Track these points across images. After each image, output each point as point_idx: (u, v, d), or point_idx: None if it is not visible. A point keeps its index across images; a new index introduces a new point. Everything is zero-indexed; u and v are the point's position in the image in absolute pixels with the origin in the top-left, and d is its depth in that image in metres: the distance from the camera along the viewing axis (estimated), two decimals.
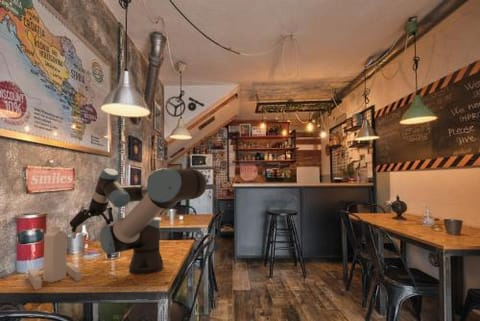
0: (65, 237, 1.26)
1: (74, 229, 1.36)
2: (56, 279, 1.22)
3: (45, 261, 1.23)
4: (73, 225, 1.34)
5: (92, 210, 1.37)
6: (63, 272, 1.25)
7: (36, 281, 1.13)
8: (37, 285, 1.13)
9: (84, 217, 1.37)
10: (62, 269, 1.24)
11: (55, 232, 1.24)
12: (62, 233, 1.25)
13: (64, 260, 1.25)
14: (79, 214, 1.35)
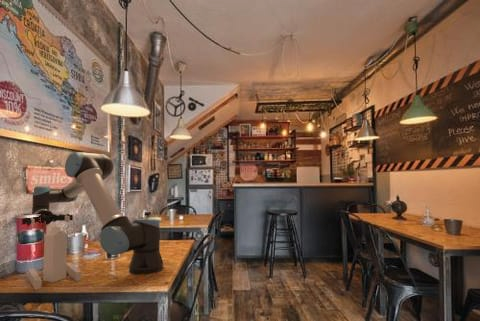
0: (65, 237, 1.26)
1: (29, 220, 1.32)
2: (56, 279, 1.22)
3: (45, 261, 1.23)
4: (24, 218, 1.33)
5: None
6: (63, 272, 1.25)
7: (36, 281, 1.13)
8: (37, 285, 1.13)
9: None
10: (62, 269, 1.24)
11: (55, 232, 1.24)
12: (62, 233, 1.25)
13: (64, 260, 1.25)
14: None
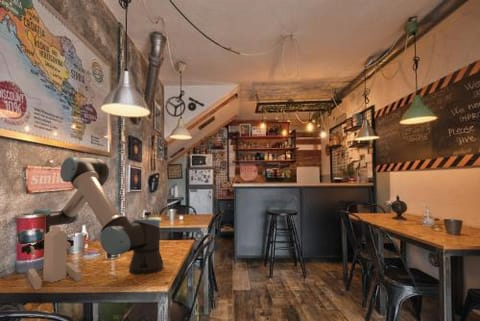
0: (65, 237, 1.26)
1: (28, 248, 1.27)
2: (56, 279, 1.22)
3: (45, 261, 1.23)
4: (24, 246, 1.29)
5: None
6: (63, 272, 1.25)
7: (36, 281, 1.13)
8: (37, 285, 1.13)
9: None
10: (62, 269, 1.24)
11: (55, 232, 1.24)
12: (62, 233, 1.25)
13: (64, 260, 1.25)
14: None
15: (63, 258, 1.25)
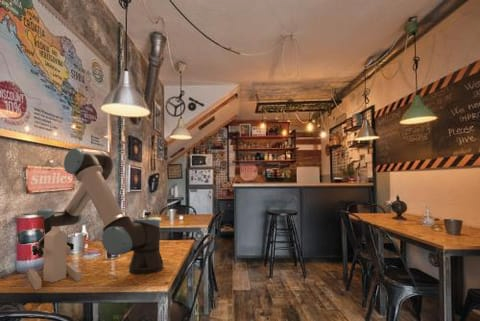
0: (65, 237, 1.26)
1: (40, 250, 1.22)
2: (56, 279, 1.22)
3: (45, 261, 1.23)
4: (35, 248, 1.23)
5: (42, 244, 1.32)
6: (63, 272, 1.25)
7: (36, 281, 1.13)
8: (37, 285, 1.13)
9: None
10: (62, 269, 1.24)
11: (55, 232, 1.24)
12: (62, 233, 1.25)
13: (64, 260, 1.25)
14: None
15: (63, 258, 1.25)
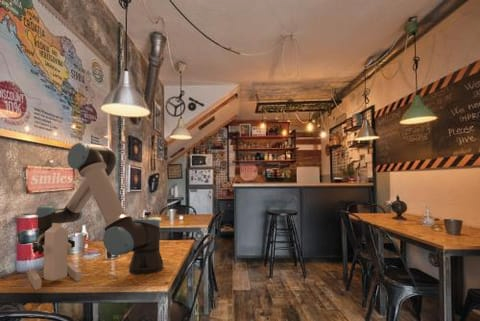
0: (66, 234, 1.23)
1: (41, 248, 1.18)
2: (57, 277, 1.18)
3: (46, 259, 1.19)
4: (35, 246, 1.20)
5: (43, 241, 1.29)
6: (64, 270, 1.21)
7: (36, 281, 1.13)
8: (37, 285, 1.13)
9: None
10: (63, 267, 1.21)
11: (55, 229, 1.20)
12: (63, 230, 1.22)
13: (65, 258, 1.22)
14: None
15: (64, 256, 1.21)
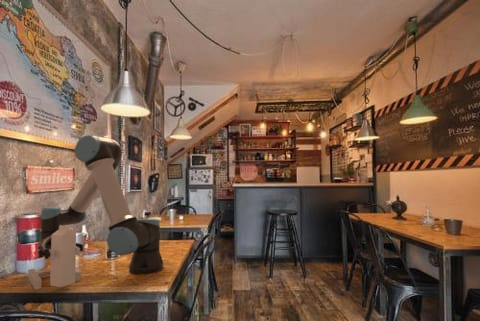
0: (74, 237, 1.15)
1: (47, 252, 1.10)
2: (64, 283, 1.10)
3: (52, 264, 1.11)
4: (41, 250, 1.12)
5: (48, 245, 1.21)
6: (72, 276, 1.13)
7: (36, 281, 1.13)
8: (37, 285, 1.13)
9: None
10: (71, 273, 1.13)
11: (63, 232, 1.12)
12: (71, 233, 1.14)
13: (73, 262, 1.14)
14: None
15: (72, 260, 1.13)
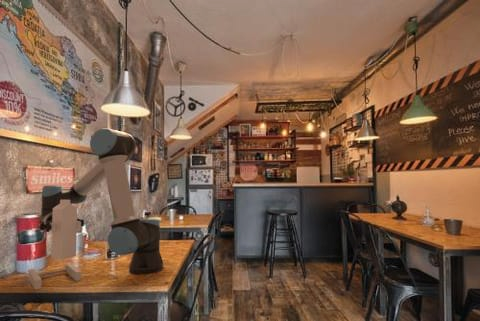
0: (75, 211, 1.15)
1: (48, 225, 1.11)
2: (65, 256, 1.11)
3: (54, 237, 1.12)
4: (42, 223, 1.12)
5: (49, 220, 1.21)
6: (73, 249, 1.14)
7: (36, 281, 1.13)
8: (37, 285, 1.13)
9: None
10: (72, 246, 1.13)
11: (64, 205, 1.13)
12: (72, 207, 1.14)
13: (74, 236, 1.14)
14: None
15: (73, 234, 1.14)
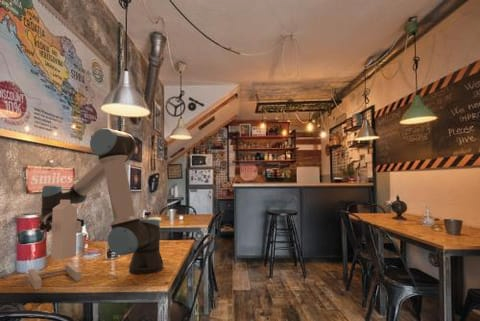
0: (75, 211, 1.15)
1: (48, 225, 1.11)
2: (65, 256, 1.11)
3: (54, 237, 1.12)
4: (42, 223, 1.12)
5: (49, 220, 1.21)
6: (73, 249, 1.14)
7: (36, 281, 1.13)
8: (37, 285, 1.13)
9: None
10: (72, 246, 1.13)
11: (64, 205, 1.13)
12: (72, 207, 1.14)
13: (74, 236, 1.14)
14: None
15: (73, 234, 1.14)
